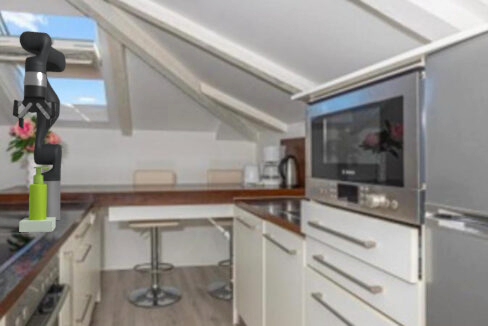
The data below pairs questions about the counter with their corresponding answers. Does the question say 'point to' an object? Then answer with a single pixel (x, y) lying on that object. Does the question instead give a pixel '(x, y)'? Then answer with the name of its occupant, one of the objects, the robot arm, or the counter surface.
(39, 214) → the soap dispenser
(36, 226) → the plate
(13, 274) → the counter surface
